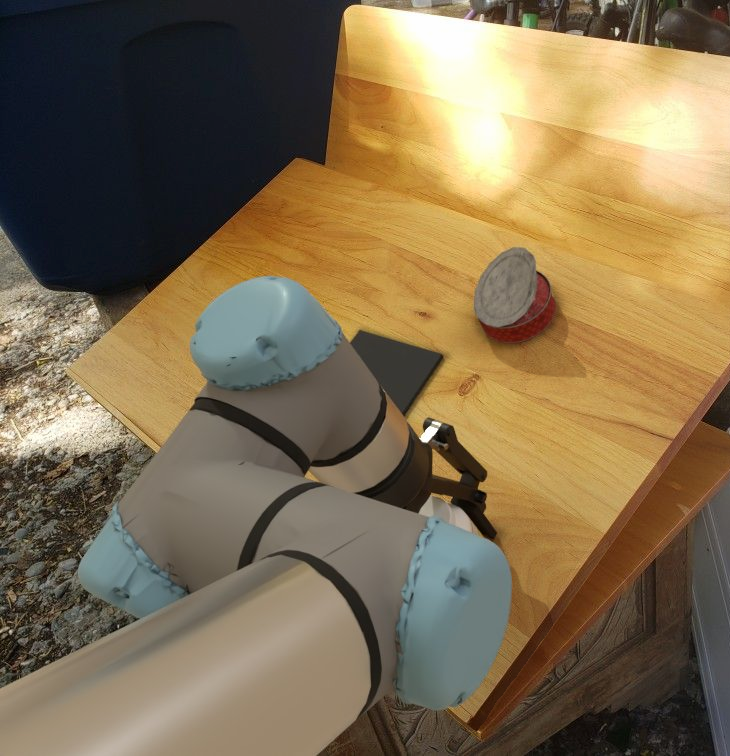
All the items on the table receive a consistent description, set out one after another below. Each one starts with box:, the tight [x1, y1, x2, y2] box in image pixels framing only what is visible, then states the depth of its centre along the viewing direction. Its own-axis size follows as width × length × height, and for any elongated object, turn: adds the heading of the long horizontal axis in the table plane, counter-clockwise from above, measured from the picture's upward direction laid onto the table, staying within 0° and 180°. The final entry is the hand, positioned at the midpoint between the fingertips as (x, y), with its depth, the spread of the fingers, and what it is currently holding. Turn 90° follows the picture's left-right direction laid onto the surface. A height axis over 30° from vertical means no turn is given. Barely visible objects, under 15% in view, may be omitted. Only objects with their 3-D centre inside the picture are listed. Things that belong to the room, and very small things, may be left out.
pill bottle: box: [419, 495, 485, 538], centre depth 63 cm, size 6×6×11 cm
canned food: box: [473, 246, 557, 344], centre depth 83 cm, size 11×10×10 cm
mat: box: [349, 329, 444, 417], centre depth 85 cm, size 16×14×1 cm
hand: (465, 565), depth 67 cm, fingers open, 7 cm apart
